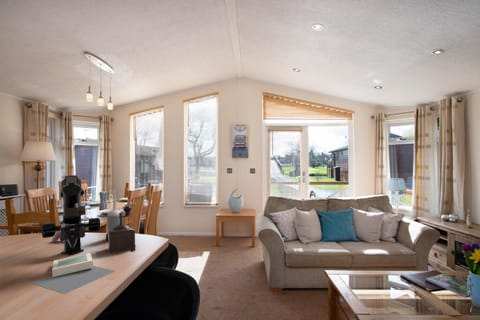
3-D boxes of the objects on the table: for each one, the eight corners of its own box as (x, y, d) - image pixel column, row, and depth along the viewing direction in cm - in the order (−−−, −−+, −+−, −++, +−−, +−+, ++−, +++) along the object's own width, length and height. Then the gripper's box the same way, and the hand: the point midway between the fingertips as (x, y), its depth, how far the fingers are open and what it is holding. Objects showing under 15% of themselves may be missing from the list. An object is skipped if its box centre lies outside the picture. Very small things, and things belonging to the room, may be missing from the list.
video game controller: (75, 244, 136) (79, 230, 139) (69, 242, 132) (73, 227, 135) (56, 243, 137) (61, 229, 140) (50, 242, 133) (54, 227, 136)
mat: (31, 285, 88) (31, 283, 88) (84, 265, 104) (84, 263, 104) (64, 296, 81) (64, 293, 81) (115, 273, 97) (115, 270, 97)
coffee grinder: (137, 250, 121) (136, 209, 121) (109, 255, 115) (109, 212, 115) (132, 241, 134) (131, 204, 134) (107, 245, 129) (106, 207, 129)
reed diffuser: (125, 236, 144) (124, 188, 144) (121, 240, 136) (120, 190, 136) (109, 236, 143) (108, 188, 143) (103, 241, 135) (102, 190, 135)
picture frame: (52, 277, 92) (54, 267, 103) (93, 267, 98) (90, 259, 109) (52, 269, 92) (53, 260, 103) (92, 259, 98) (90, 252, 109)
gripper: (41, 201, 98) (38, 239, 89) (99, 197, 108) (102, 231, 99) (43, 219, 105) (41, 256, 96) (98, 213, 115) (101, 247, 106)
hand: (72, 247), depth 99 cm, fingers closed
